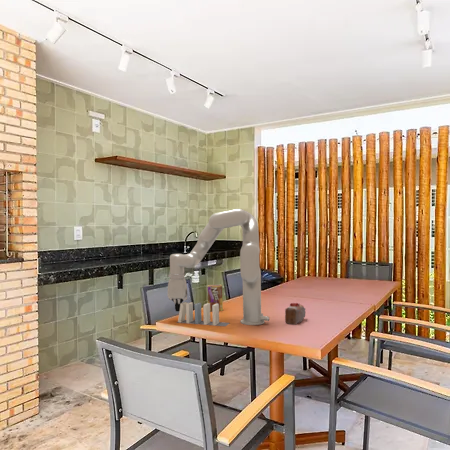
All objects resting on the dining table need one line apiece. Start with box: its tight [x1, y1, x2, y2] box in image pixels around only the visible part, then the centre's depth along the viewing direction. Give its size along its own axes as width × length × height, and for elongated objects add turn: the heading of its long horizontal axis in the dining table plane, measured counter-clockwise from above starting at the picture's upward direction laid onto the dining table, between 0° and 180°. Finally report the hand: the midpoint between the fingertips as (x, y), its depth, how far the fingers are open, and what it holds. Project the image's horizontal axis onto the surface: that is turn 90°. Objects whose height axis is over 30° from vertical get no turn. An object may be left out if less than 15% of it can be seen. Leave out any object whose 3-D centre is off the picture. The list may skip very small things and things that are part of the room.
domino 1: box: [177, 301, 188, 324], centre depth 209 cm, size 2×5×10 cm, turn 159°
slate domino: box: [194, 302, 203, 325], centre depth 206 cm, size 2×5×10 cm, turn 159°
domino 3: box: [202, 302, 211, 326], centre depth 204 cm, size 2×5×10 cm, turn 159°
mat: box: [175, 319, 231, 327], centre depth 206 cm, size 28×7×1 cm, turn 69°
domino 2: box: [185, 301, 194, 324], centre depth 208 cm, size 2×5×10 cm, turn 159°
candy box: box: [207, 284, 224, 312], centre depth 236 cm, size 9×4×15 cm, turn 96°
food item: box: [284, 302, 306, 326], centre depth 206 cm, size 14×8×10 cm, turn 152°
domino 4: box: [211, 304, 220, 326], centre depth 203 cm, size 2×5×10 cm, turn 159°
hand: (178, 310), depth 210 cm, fingers closed
